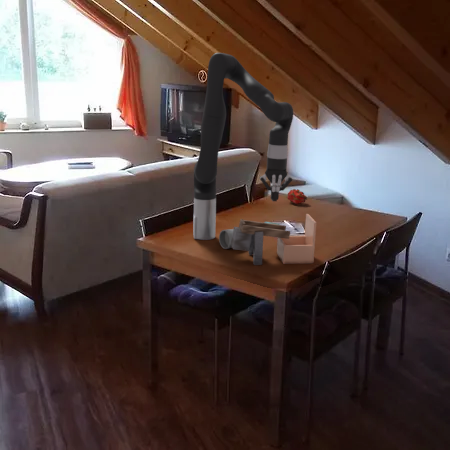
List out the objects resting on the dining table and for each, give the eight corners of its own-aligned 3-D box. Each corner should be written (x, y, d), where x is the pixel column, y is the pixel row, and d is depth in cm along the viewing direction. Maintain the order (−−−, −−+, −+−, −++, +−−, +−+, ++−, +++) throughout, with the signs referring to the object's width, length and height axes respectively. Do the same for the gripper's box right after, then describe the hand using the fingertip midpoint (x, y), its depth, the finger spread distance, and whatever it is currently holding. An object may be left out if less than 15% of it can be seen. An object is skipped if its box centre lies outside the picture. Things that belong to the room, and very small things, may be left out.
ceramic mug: (245, 247, 223) (246, 229, 221) (229, 251, 219) (229, 232, 217) (230, 241, 232) (230, 223, 230) (214, 244, 227) (214, 226, 225)
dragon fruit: (286, 203, 299) (305, 211, 293) (280, 197, 292) (299, 204, 286) (293, 190, 301) (312, 197, 294) (288, 183, 294) (307, 190, 287)
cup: (283, 263, 207) (285, 222, 202) (276, 253, 218) (278, 214, 213) (313, 263, 208) (316, 222, 203) (305, 252, 219) (308, 213, 214)
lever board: (233, 250, 204) (238, 224, 202) (228, 236, 220) (232, 212, 217) (285, 256, 208) (290, 231, 205) (276, 242, 223) (281, 218, 220)
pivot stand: (254, 265, 205) (255, 232, 201) (248, 253, 217) (249, 222, 213) (262, 264, 205) (263, 232, 201) (255, 253, 217) (257, 222, 214)
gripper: (261, 157, 204) (259, 203, 209) (296, 158, 206) (293, 203, 210) (258, 154, 211) (255, 198, 216) (292, 155, 213) (289, 198, 218)
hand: (274, 200), depth 213 cm, fingers closed
